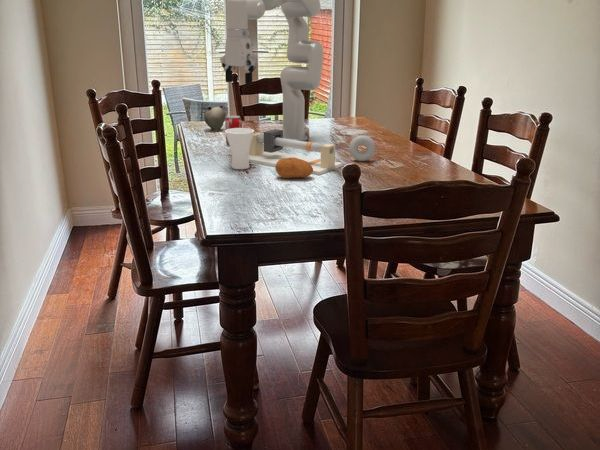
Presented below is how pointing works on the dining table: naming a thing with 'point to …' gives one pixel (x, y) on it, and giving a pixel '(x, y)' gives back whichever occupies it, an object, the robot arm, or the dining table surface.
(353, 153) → the donut
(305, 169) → the potato
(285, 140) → the pipe stand
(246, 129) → the cup
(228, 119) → the soda can
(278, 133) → the collar
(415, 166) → the dining table surface
